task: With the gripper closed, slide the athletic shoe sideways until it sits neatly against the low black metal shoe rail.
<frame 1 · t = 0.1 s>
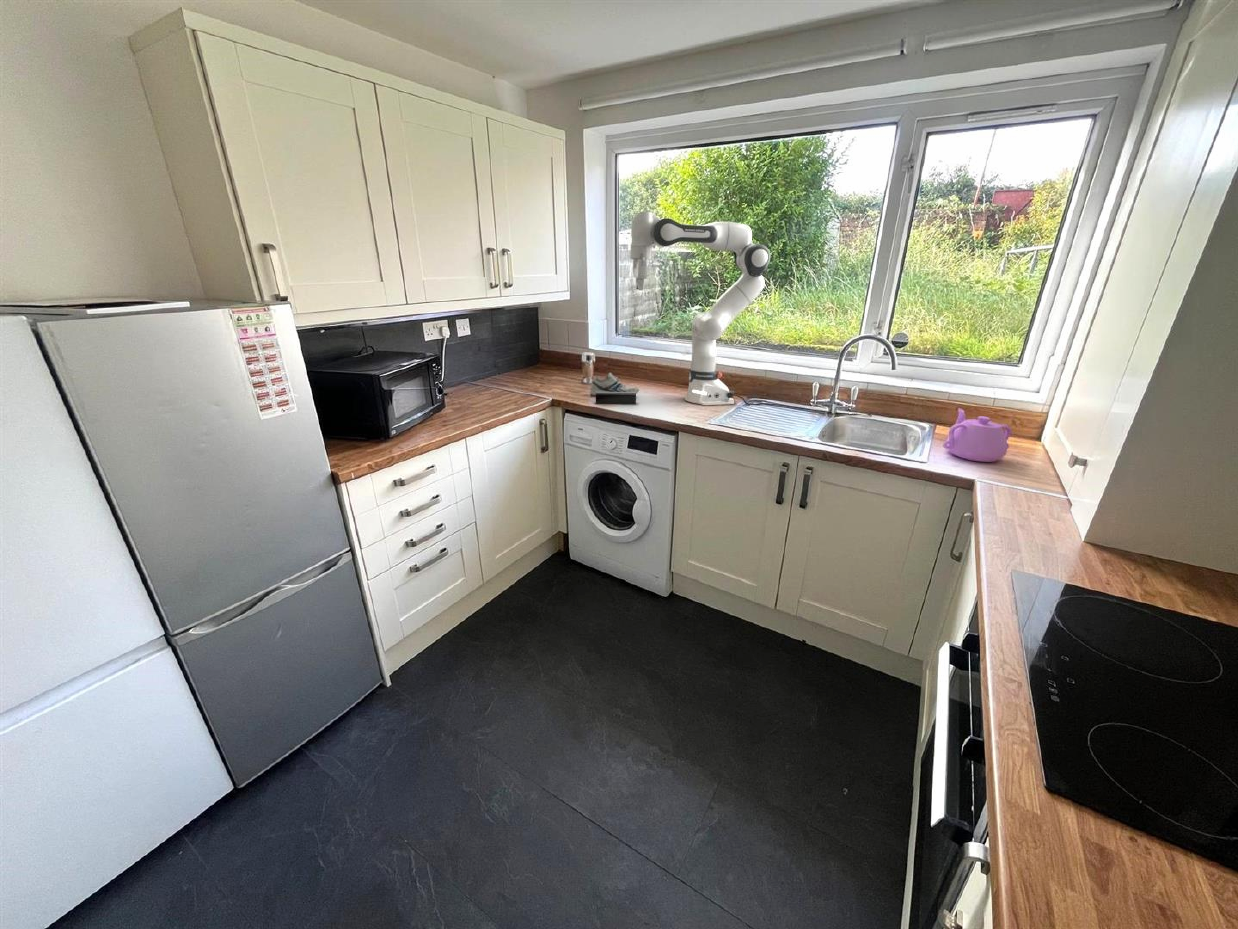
hand: (639, 289, 213), 48 cm above the countertop, tool pointing down, fingers open, 8 cm apart
teapot: (967, 454, 173), on the countertop
shoe rack: (615, 403, 222), on the countertop
athletic shoe: (614, 396, 235), on the countertop
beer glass: (588, 382, 261), on the countertop
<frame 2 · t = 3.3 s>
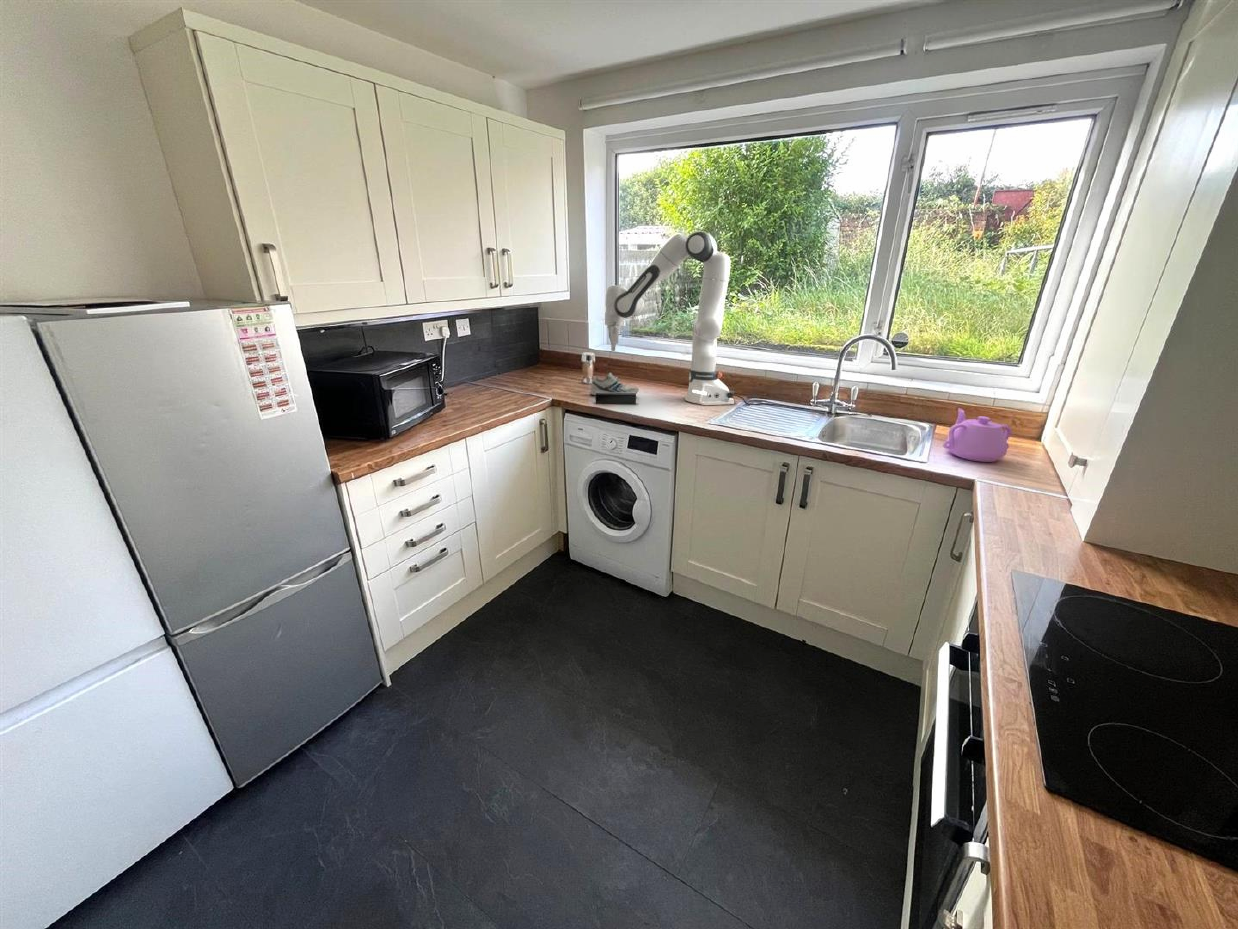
hand: (613, 350, 241), 19 cm above the countertop, tool pointing down, fingers closed
nothing on the countertop moved.
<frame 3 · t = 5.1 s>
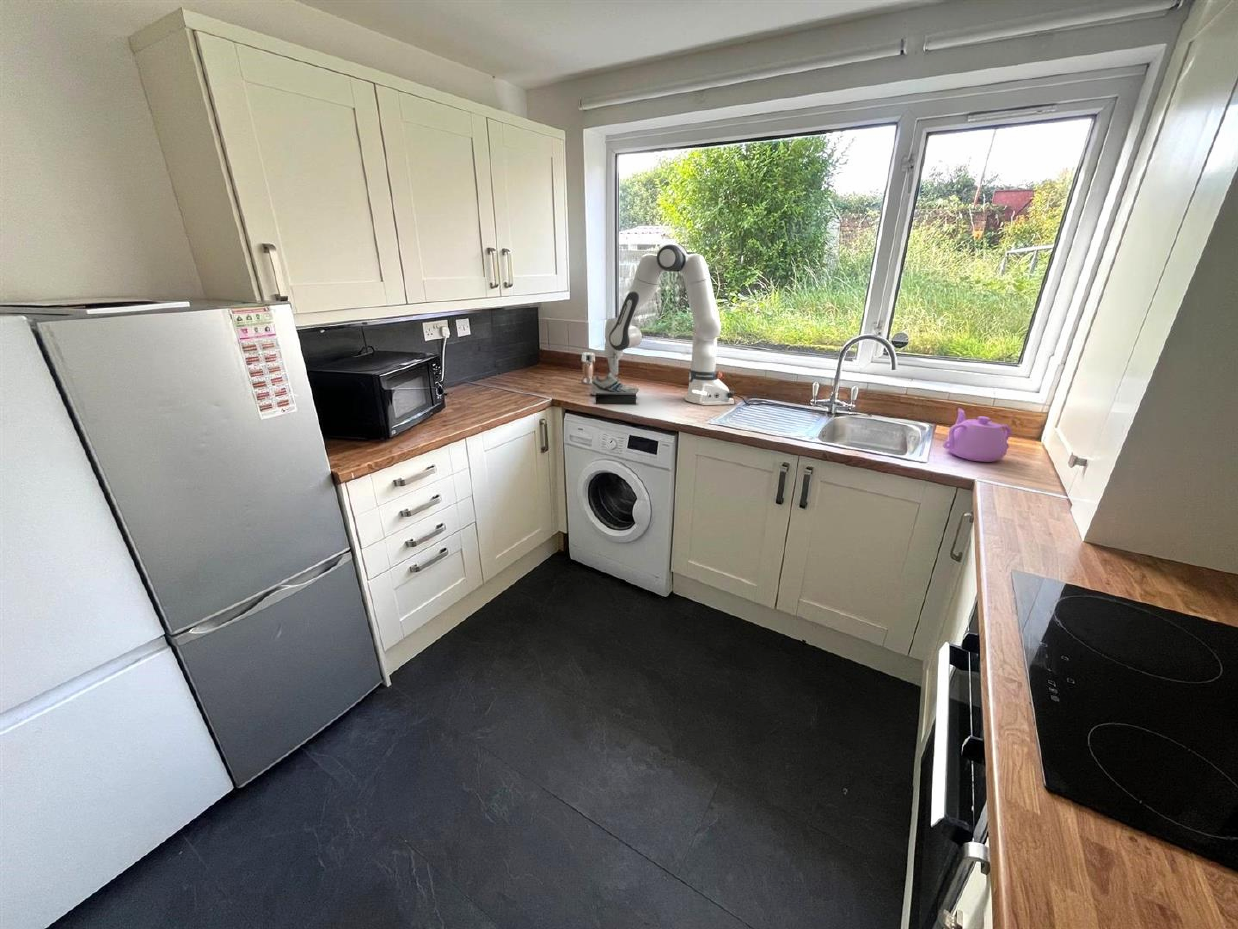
hand: (613, 380, 245), 5 cm above the countertop, tool pointing down, fingers closed
nothing on the countertop moved.
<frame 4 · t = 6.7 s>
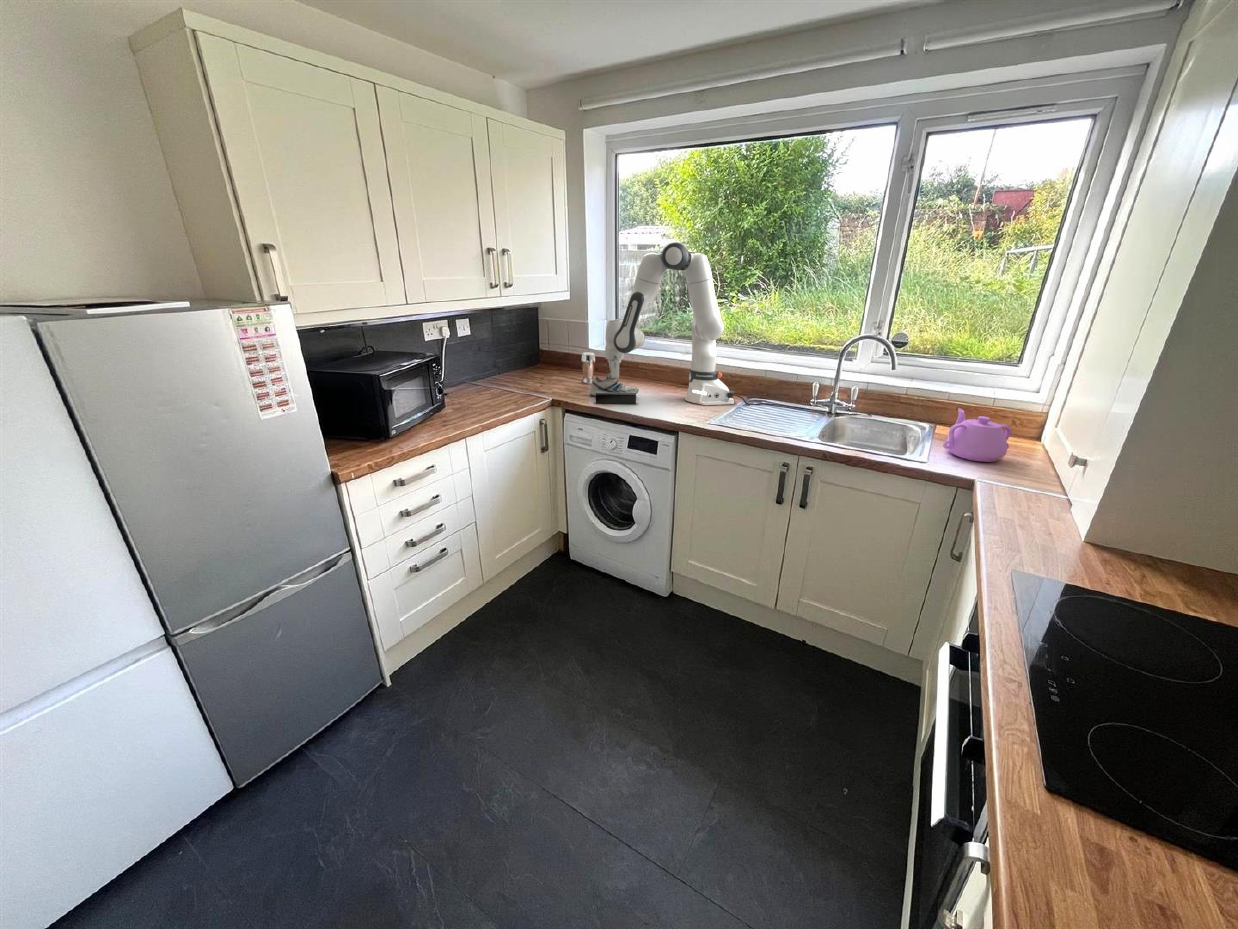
hand: (613, 384, 238), 5 cm above the countertop, tool pointing down, fingers closed
athletic shoe: (613, 396, 234), on the countertop, touching gripper
everything else where it was.
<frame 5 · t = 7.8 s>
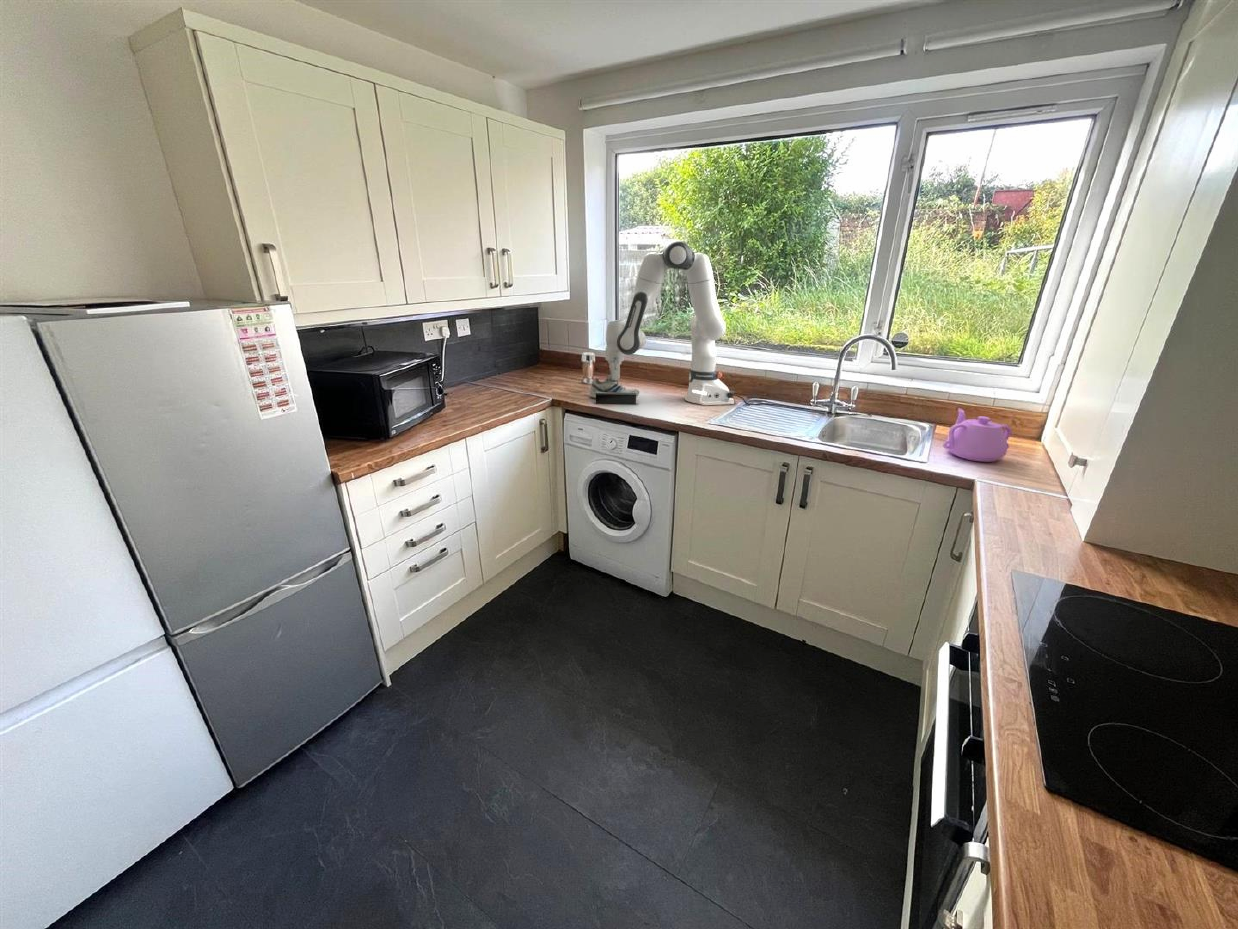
hand: (614, 385, 234), 5 cm above the countertop, tool pointing down, fingers closed
athletic shoe: (613, 399, 230), on the countertop, touching gripper
everything else where it was.
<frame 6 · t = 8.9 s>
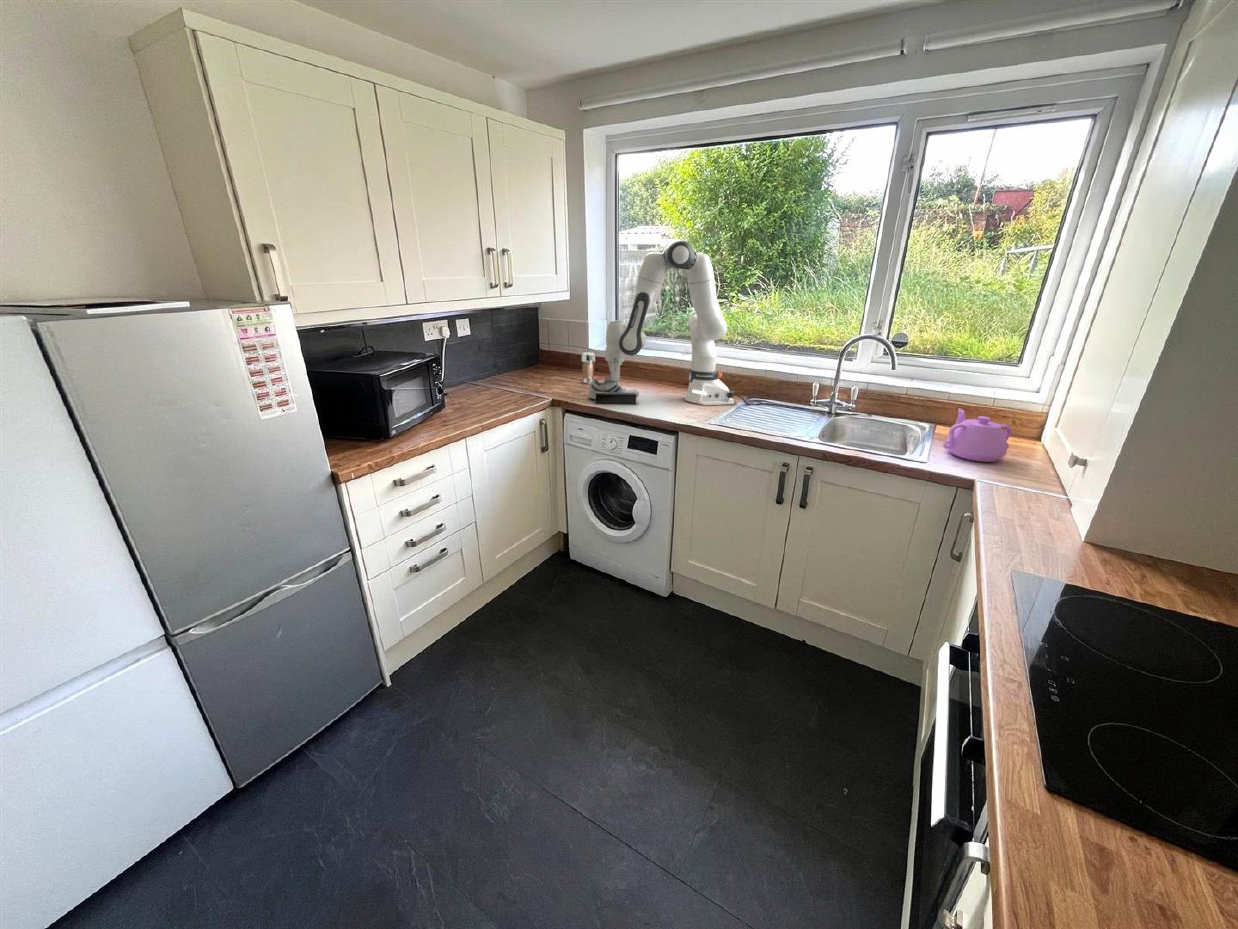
hand: (613, 386, 232), 5 cm above the countertop, tool pointing down, fingers closed
athletic shoe: (613, 400, 228), on the countertop, touching gripper, shoe rack
everything else where it was.
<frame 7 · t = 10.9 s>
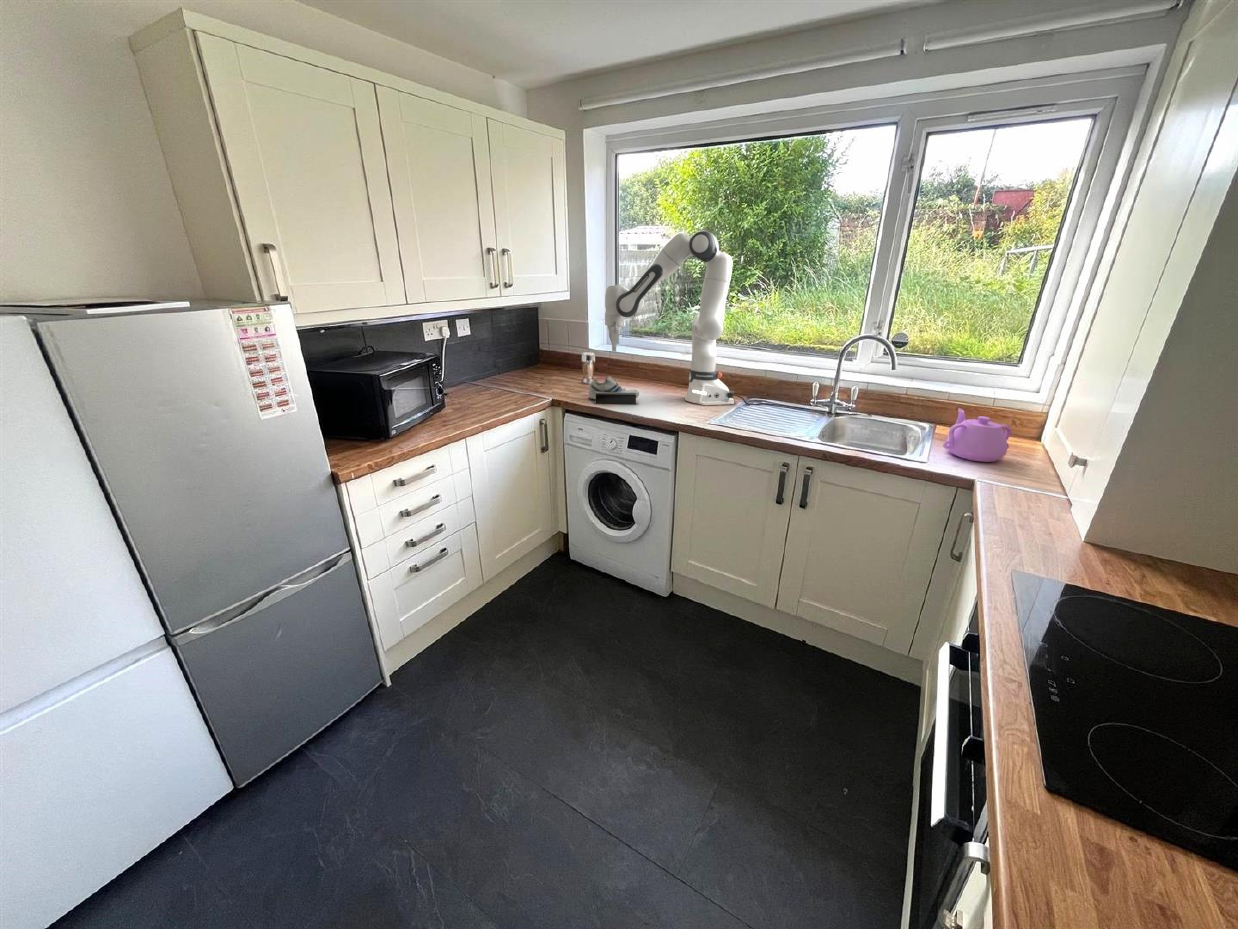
hand: (614, 351, 238), 19 cm above the countertop, tool pointing down, fingers closed
athletic shoe: (613, 400, 228), on the countertop
everything else where it was.
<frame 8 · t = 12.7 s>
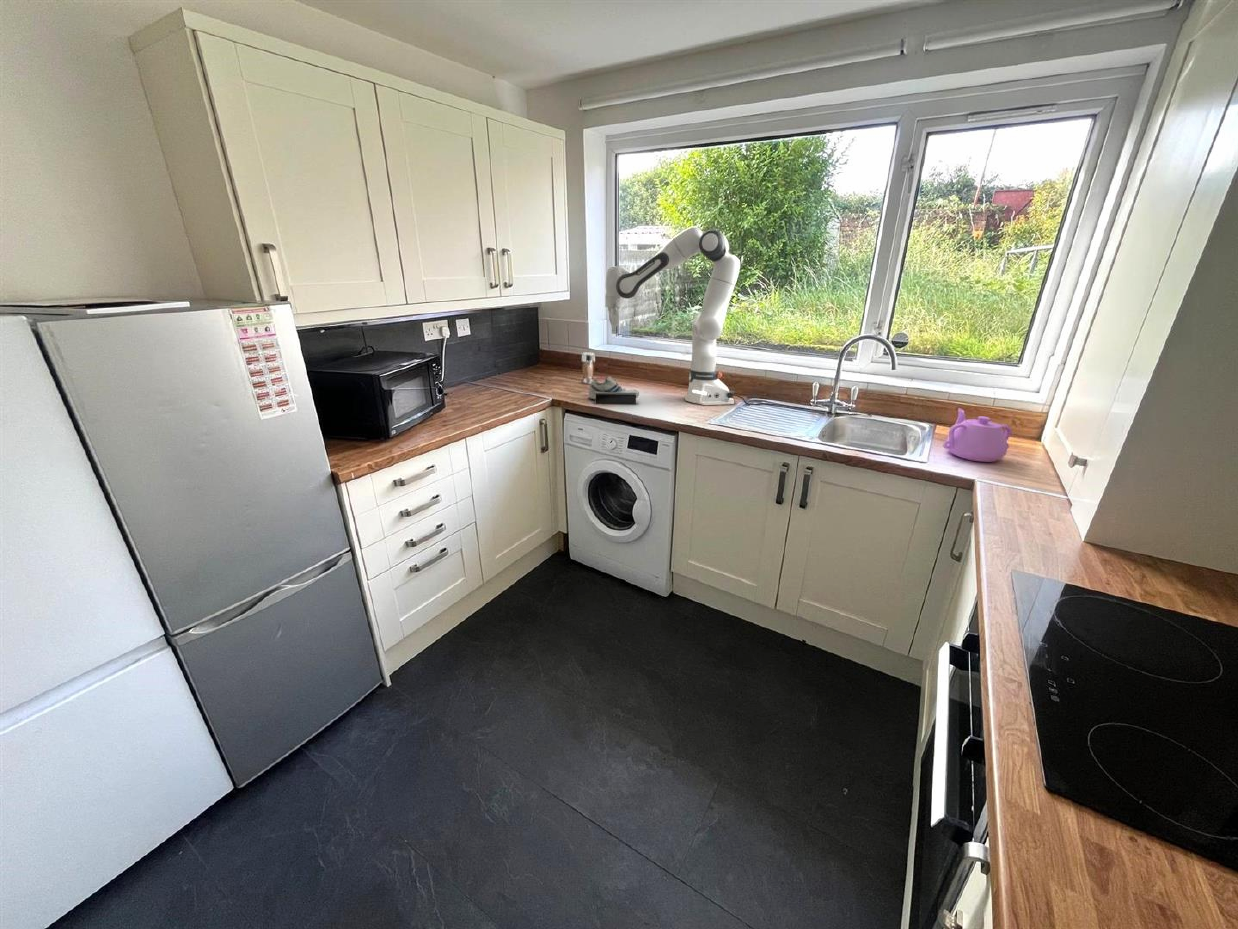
hand: (613, 333, 238), 27 cm above the countertop, tool pointing down, fingers closed
nothing on the countertop moved.
at the end: athletic shoe inside the target area (0.9 cm from its centre), on the countertop; athletic shoe tilted 0°; athletic shoe moved 7.7 cm from its start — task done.
